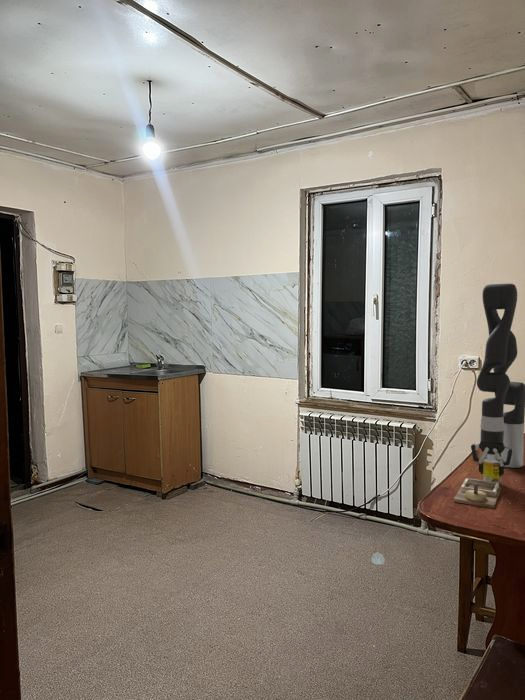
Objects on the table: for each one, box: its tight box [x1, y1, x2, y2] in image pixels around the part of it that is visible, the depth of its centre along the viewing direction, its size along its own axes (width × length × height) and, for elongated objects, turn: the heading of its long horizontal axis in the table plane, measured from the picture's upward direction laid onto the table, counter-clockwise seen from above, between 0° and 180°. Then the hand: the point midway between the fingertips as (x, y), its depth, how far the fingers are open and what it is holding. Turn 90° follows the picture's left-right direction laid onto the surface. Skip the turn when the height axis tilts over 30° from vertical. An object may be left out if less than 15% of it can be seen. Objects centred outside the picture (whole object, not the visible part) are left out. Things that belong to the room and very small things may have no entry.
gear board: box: [453, 477, 502, 509], centre depth 174 cm, size 19×12×6 cm, turn 149°
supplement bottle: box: [482, 454, 501, 483], centre depth 187 cm, size 6×6×10 cm
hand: (491, 474), depth 187 cm, fingers closed on supplement bottle, 5 cm apart
